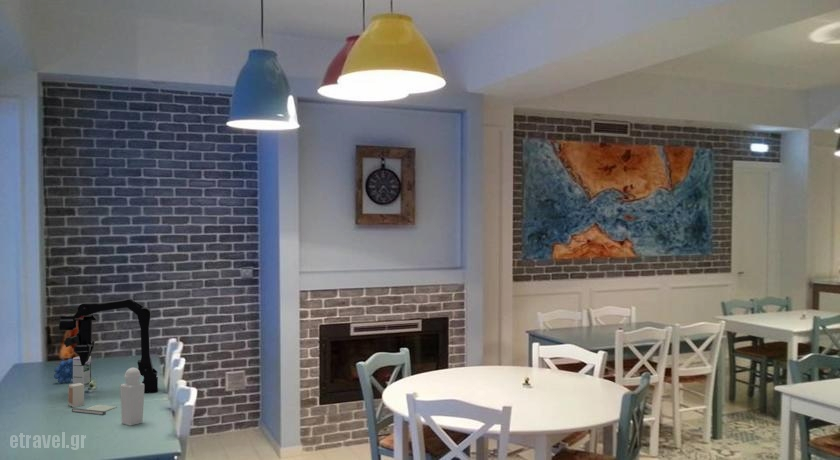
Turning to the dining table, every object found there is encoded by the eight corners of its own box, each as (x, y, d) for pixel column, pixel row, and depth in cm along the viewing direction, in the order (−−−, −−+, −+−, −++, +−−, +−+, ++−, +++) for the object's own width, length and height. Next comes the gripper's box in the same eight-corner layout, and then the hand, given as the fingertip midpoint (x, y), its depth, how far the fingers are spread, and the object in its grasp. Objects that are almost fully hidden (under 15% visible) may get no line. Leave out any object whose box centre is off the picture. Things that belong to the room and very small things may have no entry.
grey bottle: (129, 426, 254) (130, 370, 254) (119, 423, 257) (120, 368, 257) (144, 422, 259) (145, 367, 259) (134, 419, 262) (135, 365, 263)
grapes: (80, 380, 329) (80, 356, 329) (80, 383, 323) (80, 358, 323) (54, 382, 324) (54, 358, 324) (53, 385, 318) (53, 360, 318)
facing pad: (116, 407, 280) (116, 406, 280) (99, 413, 270) (99, 412, 270) (97, 405, 283) (97, 404, 283) (79, 411, 273) (79, 410, 273)
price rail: (105, 414, 270) (105, 411, 270) (103, 415, 268) (103, 412, 268) (74, 410, 274) (74, 408, 274) (71, 411, 273) (71, 408, 273)
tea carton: (79, 403, 286) (79, 382, 286) (84, 405, 283) (84, 384, 283) (68, 405, 282) (68, 384, 282) (72, 407, 279) (72, 386, 279)
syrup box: (83, 387, 313) (83, 357, 313) (72, 387, 314) (72, 357, 314) (91, 385, 319) (91, 355, 319) (80, 384, 320) (81, 355, 320)
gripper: (68, 327, 305) (68, 360, 305) (61, 333, 287) (61, 369, 287) (95, 326, 309) (94, 359, 309) (89, 332, 291) (89, 367, 291)
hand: (84, 363), depth 299 cm, fingers open, 9 cm apart
